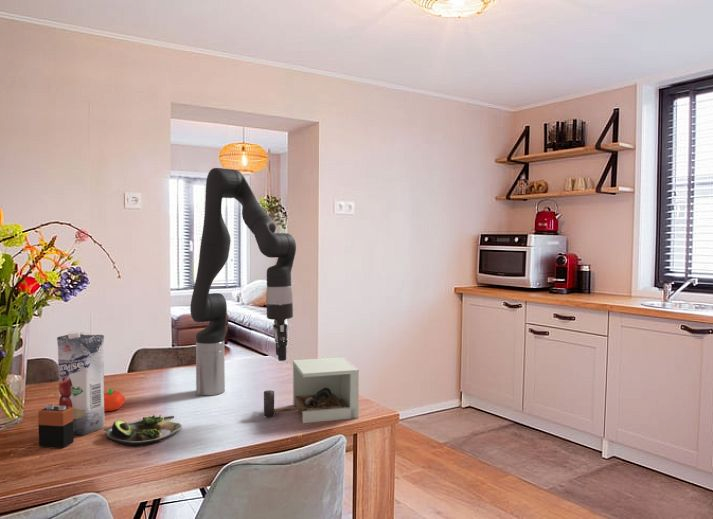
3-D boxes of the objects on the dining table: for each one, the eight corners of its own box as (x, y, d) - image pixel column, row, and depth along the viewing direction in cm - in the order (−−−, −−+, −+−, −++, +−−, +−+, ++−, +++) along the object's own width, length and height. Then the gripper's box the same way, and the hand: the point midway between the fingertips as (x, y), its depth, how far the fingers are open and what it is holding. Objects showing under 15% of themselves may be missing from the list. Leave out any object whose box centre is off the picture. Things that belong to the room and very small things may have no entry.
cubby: (303, 422, 153) (303, 373, 152) (293, 404, 169) (293, 360, 169) (358, 417, 157) (358, 369, 156) (343, 400, 174) (343, 357, 173)
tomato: (107, 416, 159) (103, 395, 159) (95, 410, 165) (92, 390, 164) (130, 408, 165) (127, 387, 164) (119, 402, 170) (116, 383, 169)
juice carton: (83, 421, 153) (82, 326, 152) (109, 427, 148) (108, 329, 147) (54, 431, 145) (52, 331, 144) (80, 438, 140) (78, 334, 139)
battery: (50, 441, 139) (49, 402, 138) (74, 442, 138) (73, 403, 137) (37, 447, 134) (37, 407, 134) (62, 449, 133) (62, 408, 133)
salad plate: (153, 417, 158) (153, 402, 158) (198, 428, 150) (198, 411, 149) (93, 439, 141) (93, 421, 141) (140, 452, 133) (140, 433, 132)
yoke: (266, 423, 151) (266, 399, 151) (261, 408, 165) (261, 385, 165) (344, 416, 158) (344, 392, 157) (333, 402, 171) (333, 380, 171)
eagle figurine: (333, 412, 159) (337, 397, 168) (319, 392, 158) (324, 379, 167) (312, 424, 160) (317, 409, 169) (298, 405, 159) (304, 391, 168)
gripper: (265, 300, 163) (266, 354, 164) (267, 304, 149) (269, 363, 150) (290, 299, 165) (291, 352, 165) (295, 303, 151) (296, 361, 151)
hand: (280, 357), depth 158 cm, fingers open, 8 cm apart
